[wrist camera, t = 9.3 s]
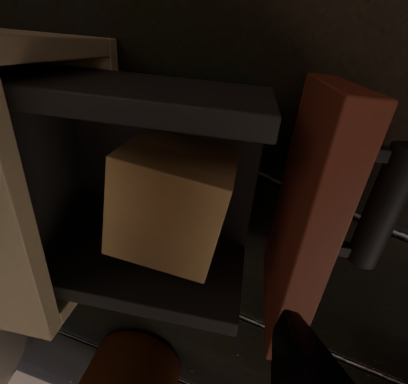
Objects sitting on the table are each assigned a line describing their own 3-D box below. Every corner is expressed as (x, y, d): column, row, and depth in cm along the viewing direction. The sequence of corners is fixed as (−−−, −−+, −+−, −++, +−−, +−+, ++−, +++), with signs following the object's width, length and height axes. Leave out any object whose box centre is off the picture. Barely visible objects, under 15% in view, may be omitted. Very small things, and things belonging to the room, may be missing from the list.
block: (241, 148, 13) (233, 191, 9) (218, 223, 15) (204, 285, 11) (150, 123, 13) (105, 155, 9) (140, 201, 15) (100, 253, 11)
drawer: (434, 84, 11) (597, 120, 6) (351, 273, 16) (398, 389, 11) (63, 48, 13) (-73, 50, 8) (89, 226, 18) (15, 304, 13)
